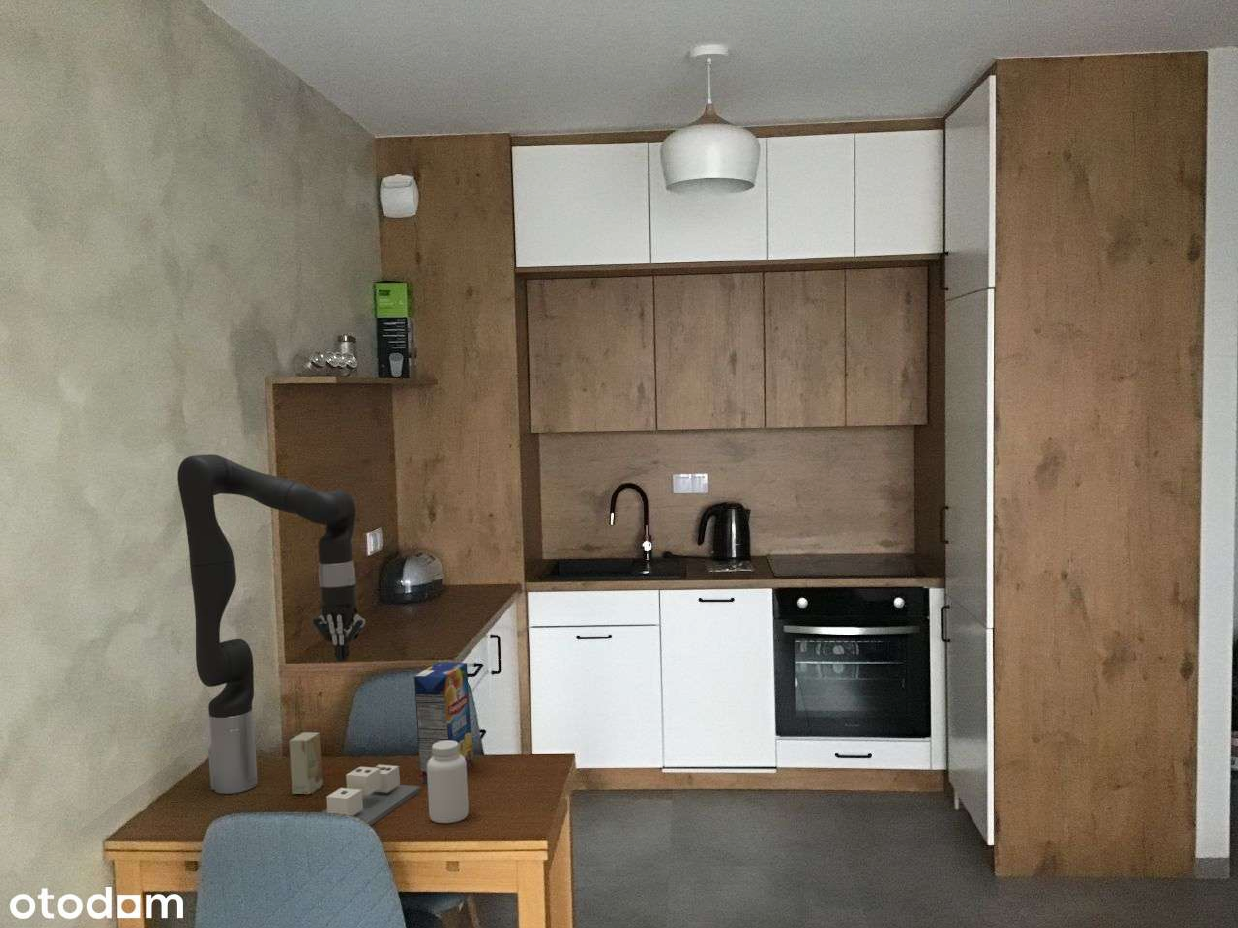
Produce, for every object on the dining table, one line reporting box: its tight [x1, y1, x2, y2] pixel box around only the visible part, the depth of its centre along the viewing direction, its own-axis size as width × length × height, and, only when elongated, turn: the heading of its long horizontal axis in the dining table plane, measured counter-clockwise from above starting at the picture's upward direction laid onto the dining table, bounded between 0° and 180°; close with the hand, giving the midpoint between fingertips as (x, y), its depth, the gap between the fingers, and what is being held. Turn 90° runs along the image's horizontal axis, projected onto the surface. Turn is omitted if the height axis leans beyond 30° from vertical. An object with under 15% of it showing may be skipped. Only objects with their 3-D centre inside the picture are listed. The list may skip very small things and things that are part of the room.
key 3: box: [373, 764, 401, 793], centre depth 223 cm, size 5×5×4 cm
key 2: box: [345, 766, 381, 796], centre depth 216 cm, size 5×5×4 cm
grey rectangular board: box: [321, 784, 421, 826], centre depth 217 cm, size 13×22×1 cm, turn 160°
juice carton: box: [413, 662, 474, 784], centre depth 234 cm, size 12×8×24 cm, turn 164°
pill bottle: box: [427, 740, 470, 824], centre depth 209 cm, size 8×8×15 cm
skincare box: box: [289, 731, 324, 795], centre depth 229 cm, size 6×4×12 cm
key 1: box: [325, 787, 363, 816], centre depth 210 cm, size 5×5×4 cm
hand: (342, 660), depth 226 cm, fingers closed
